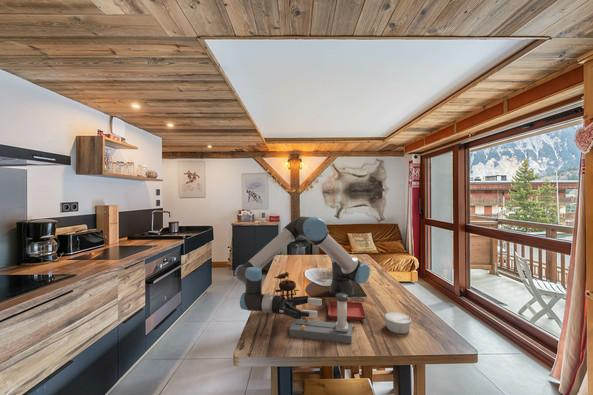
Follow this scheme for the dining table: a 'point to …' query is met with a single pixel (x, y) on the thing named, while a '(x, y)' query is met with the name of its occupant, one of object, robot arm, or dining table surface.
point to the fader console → (319, 331)
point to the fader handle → (342, 312)
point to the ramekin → (398, 322)
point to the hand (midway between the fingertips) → (319, 308)
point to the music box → (285, 286)
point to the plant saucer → (348, 311)
